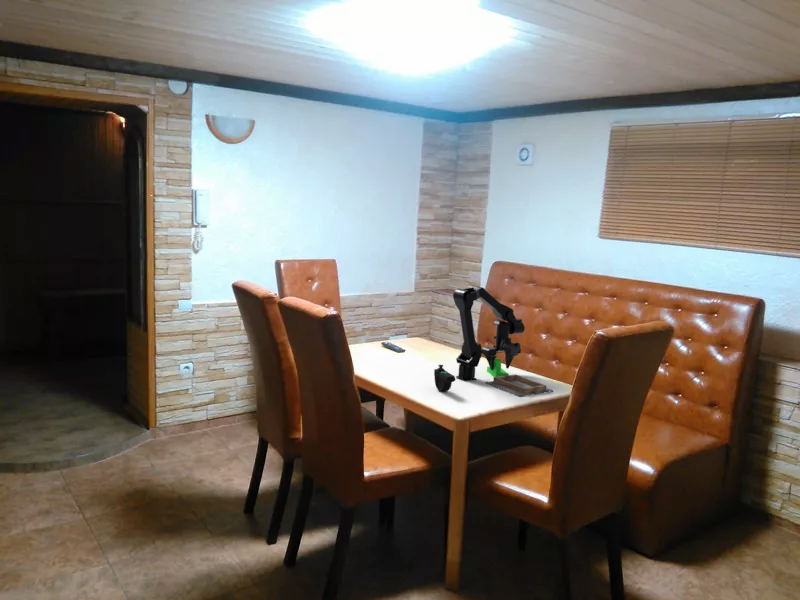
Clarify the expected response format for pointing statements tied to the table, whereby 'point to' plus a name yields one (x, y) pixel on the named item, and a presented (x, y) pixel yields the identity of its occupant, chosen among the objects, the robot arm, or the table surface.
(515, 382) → the seat
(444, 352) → the table surface
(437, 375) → the controller
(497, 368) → the mechanical part
